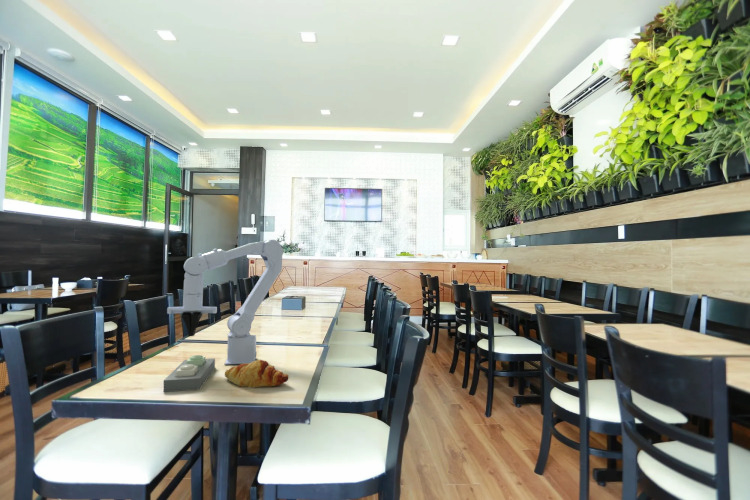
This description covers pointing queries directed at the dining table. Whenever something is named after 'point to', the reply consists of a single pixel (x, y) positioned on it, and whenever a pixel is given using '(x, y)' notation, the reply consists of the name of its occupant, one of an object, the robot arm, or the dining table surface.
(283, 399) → the dining table surface
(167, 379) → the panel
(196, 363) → the button
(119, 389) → the dining table surface
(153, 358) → the dining table surface
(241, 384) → the croissant
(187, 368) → the button
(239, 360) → the robot arm
